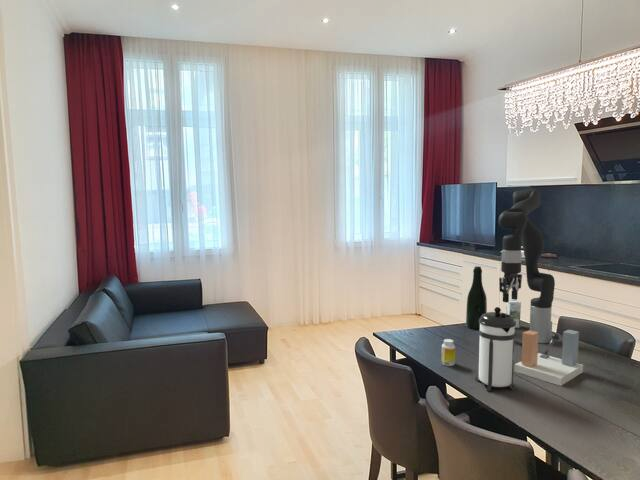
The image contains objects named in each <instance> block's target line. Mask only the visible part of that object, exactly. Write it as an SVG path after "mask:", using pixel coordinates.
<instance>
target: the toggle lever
mask: <svg viewBox="0 0 640 480" xmlns="http://www.w3.org/2000/svg"><path fill="white" fill-rule="evenodd" d="M559 340H560V335H559V334H557V333H552V339H551V341H550V342H549V343H548V345H547V347H546V349H545V350H544V352H543V353H544V354H545V355H548V354H549V353H550V350H551V349H552V348H553V346H554V344H555V343H556V341H559Z"/></svg>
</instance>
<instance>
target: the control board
mask: <svg viewBox="0 0 640 480" xmlns="http://www.w3.org/2000/svg"><path fill="white" fill-rule="evenodd" d="M521 363H522V360H521V361H519V362H517V363H514V372H515V373H517V374H521V375H524V376H528V377H531V378H535V379H537V380H541V381H543V382H547V383H551V384H554V385H557V386H559V387H561V386H563V385H565V384H566V383H568V382H569V381H571V380H572V379H574V378H576V377H578V376H579V375H580V374H582V373H584V364H581V363H579V362H578V363H577V364H575V365H573V366H570V365H566V364H562V358H559V357H555V356H551V355H548V354H547V355H546V354H543V353H540V352H538V360H537V364H536V365H534V366H532V367H530V366H526V365H523V364H521Z"/></svg>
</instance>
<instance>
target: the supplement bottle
mask: <svg viewBox="0 0 640 480" xmlns="http://www.w3.org/2000/svg"><path fill="white" fill-rule="evenodd" d="M440 359H441V362H440V363H441V364H442V366H443V365H444V366H447V367H451V366H455V364H456V345H455V344H454V340H453V339H450V338H445V339H443V343H442V344H441V358H440Z"/></svg>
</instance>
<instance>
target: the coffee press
mask: <svg viewBox="0 0 640 480" xmlns="http://www.w3.org/2000/svg"><path fill="white" fill-rule="evenodd" d="M501 311H502V309H501V308H500V307H499V306H497V307H496V306H495V308H494V310H493V311H489V312H488V311H487V313H485V314H483V315H482V316H481V318H480V319H479V323H480V328H479V330H478V335H479V336H478V337H479V338H478V339H479V341H478V371H477V372H478V373H477V376H476V377H474V380H475V382H479V381H480V382H482V383H483V384H485V385H487V386H486V391H487V392H492V391H493V387H494V388H505V387H509V388H510V390H511V391H515V390H517V386H516V384H515V382H514V372H515V342H516V341H515V338H516V331H515V329H516V328H515V326H516V322H515V321H514V318H513V317H512V316H510V315H508V314H506V313H504V312H501ZM477 378H478V379H477Z"/></svg>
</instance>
